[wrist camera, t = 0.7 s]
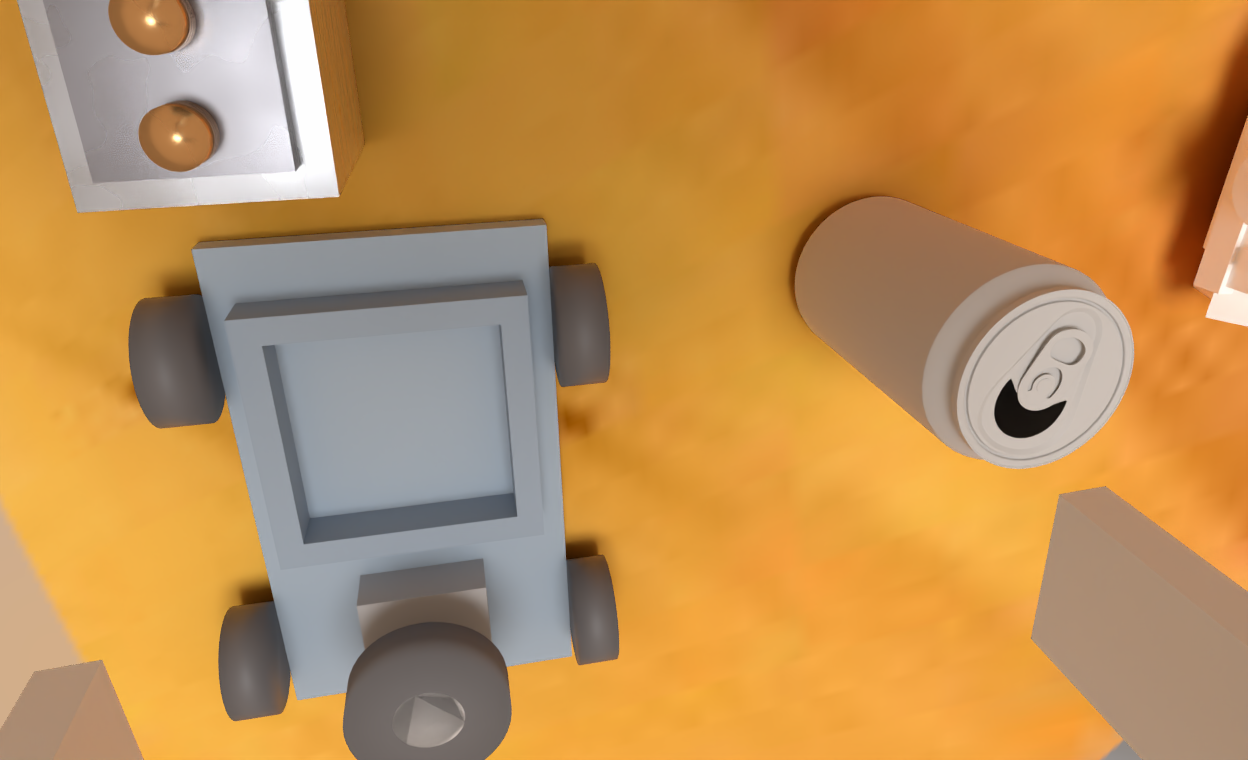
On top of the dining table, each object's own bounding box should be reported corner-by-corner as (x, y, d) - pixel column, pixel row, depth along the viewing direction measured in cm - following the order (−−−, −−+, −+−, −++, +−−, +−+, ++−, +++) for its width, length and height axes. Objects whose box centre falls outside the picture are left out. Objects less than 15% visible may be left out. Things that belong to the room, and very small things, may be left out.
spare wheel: (340, 601, 33) (330, 670, 29) (497, 578, 34) (505, 643, 30) (363, 717, 35) (356, 794, 32) (509, 693, 36) (517, 765, 33)
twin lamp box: (132, -48, 26) (-48, -80, 16) (337, -51, 27) (284, -82, 17) (178, 153, 28) (47, 230, 19) (364, 143, 29) (331, 212, 20)
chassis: (149, 245, 29) (104, 283, 25) (585, 215, 32) (606, 245, 28) (262, 689, 37) (242, 770, 33) (602, 636, 40) (620, 705, 36)
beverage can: (761, 314, 35) (906, 450, 24) (833, 166, 33) (1026, 244, 22) (884, 359, 37) (1068, 504, 26) (958, 224, 35) (1189, 320, 24)
